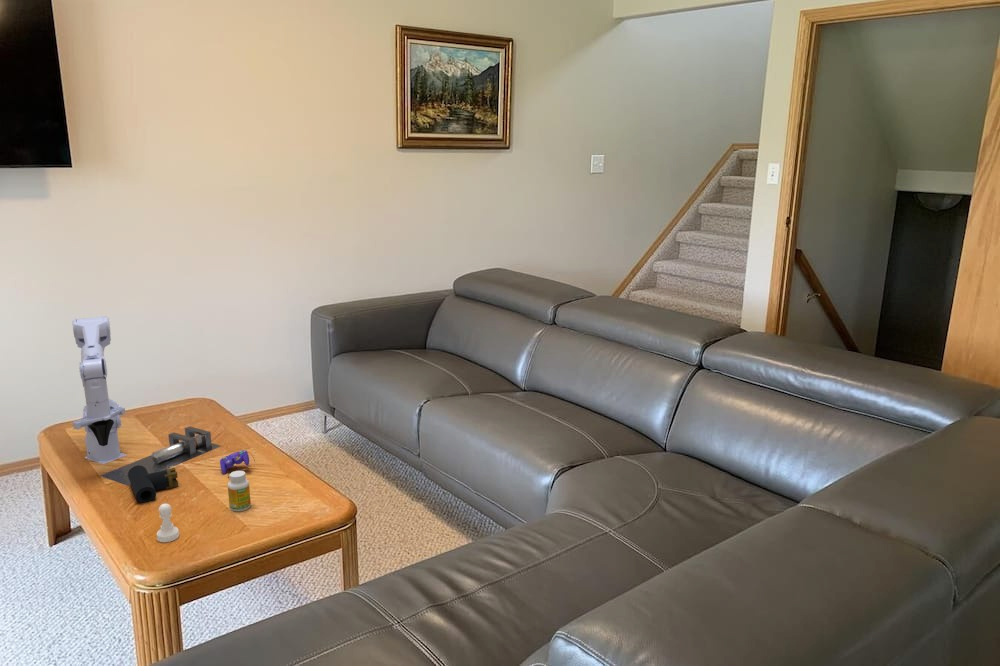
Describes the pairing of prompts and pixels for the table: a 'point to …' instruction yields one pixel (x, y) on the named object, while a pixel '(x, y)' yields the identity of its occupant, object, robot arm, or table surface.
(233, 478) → the supplement bottle
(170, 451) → the grey long cylinder
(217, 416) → the table surface
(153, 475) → the pipe connector
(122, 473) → the grey cradle rack
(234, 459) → the game controller
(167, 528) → the chess pawn
